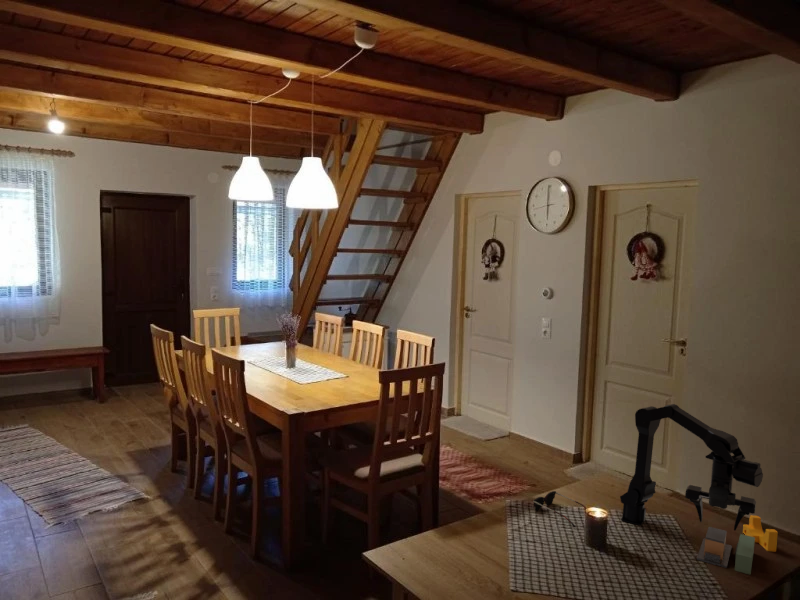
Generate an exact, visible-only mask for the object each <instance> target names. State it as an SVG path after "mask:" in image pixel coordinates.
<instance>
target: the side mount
mask: <svg viewBox="0 0 800 600" xmlns="http://www.w3.org/2000/svg"><path fill="white" fill-rule="evenodd" d="M705 538H706V537H705ZM705 538H702V542H701V545H700V547H699V548H700V549H699V551H698V554H697V556H696V561H700V562H704V563H707V564H709V565H715V566H718V567H722V568H725V569H727V568H728V565H729V561H730V557H731V552H732V548H733V547H732V545H731V544H729V543H728V544H727V543H726V544H725V551H724V556H723V560H721V559H720V555H717V554H713V553H709V552H705V555H704V549H705Z"/></svg>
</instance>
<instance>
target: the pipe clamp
mask: <svg viewBox="0 0 800 600" xmlns="http://www.w3.org/2000/svg"><path fill="white" fill-rule="evenodd" d="M743 533H744V534H745V535H747V536H751V537H755V544H756V543H758V544H759V545H760V546H761V547H763V548H764V550H765V551H766V552H777V546H778V545H777V543H778V534H779V533H778V531H777V530H776V529H774V528H773V529H771V528H766V529H765V531H764V530H763V527H762V518H761V517H760V516H758V515H752V514H751V515H750V514H749V520H748V524H746V523H745V524H743V527H742V534H743ZM744 534H743V535H744Z"/></svg>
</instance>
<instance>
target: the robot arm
mask: <svg viewBox="0 0 800 600" xmlns="http://www.w3.org/2000/svg"><path fill="white" fill-rule="evenodd" d="M634 413H635V414H634V420H635V428H636V430H637V432H638V437H637V447H636V458H635V465H634V466H635V468H634V474H633V476H632V478H631V480H630V481H629V485H628V487H627V492H625V493H624V494H622V495H620V497H619V498H620V502H621V504H623V507H622V517H621V519H620V521H621V522H625V523H629V524H633V525H637V526H642V525H643V524H644V522H645V521H646V516H647V515H646V511H647V508H646V507H645V504H646V503H648V501H649V499H651V498H653V496H654V494H656V485H657V482H656V481H653V479H652V478H651V468H652V459H653V448H654V440H655V439H654V437H655V434H656V432H657V430H658V428H659V427H660V424H661V420H662V419H663V420H664V419H670V420H672V421H673V422H674V423H676V424H678V425H679V426H681V427H682V428H683V429H685V430H687V431H688V432H690V433H691V434H693V435H695V436H696V437H698V438H700V440H702V442H703V443H704V444H705V445H706V447H707V448H708V449H709V450H710V451H711V452H710V453H708V454H707V455H705V459H708V460H712V465H711V466H712V467H711V475H710V477H711V478H710V486H709V490H708V491H703V489H702V487H701V486H696V485H692V484H689V485H687V487H686V489H685V494H684V495H685V496H684V498H685V499H688V500H689V502H690V503H693V505H694V506H695V509H696V511H697V516H698V519H699V522H700V523H702V522H703V499H707V500H708V505H709V506H711V507H713V508H714V507H715V508H716V507H717V508H720V509H722V510H726V509H727V508H728V506H737V507H738V508H737V509H738V510H737V514H736V517H735V522H734V527H733V530H734V531H736V530H737V529H738V526H739V525H740V522H741V521H742V519H743V517H745V516H750V514H751V515H752V514H755V512H756V507H757V506H756V505H757V501H756V499H755V498H752V497H746V496H742V495H741V496H740V499H739V498H736V493H734V492H733V480H735V481H736V482H739V483H742V484H744V485H745V484H746V485H749V486H751V487H752V486H753V487H755V488H758V487H760V486H761V485H762V482H763V478H764V473H763V469H762V468H761V463H760V462H755V461H750V460H746V456H745V455H744V453H743V451H742V449H741V448H740V446H739V442H738V439H737V437H735V435H732V434H731V433H727V432H725V431H723V430H721V429H716V428H713V427H711V426H710V425H708V424H706V423H705V422H704V421H703V422H702V421H701V420H700V419H698V418H697V417H695V416H694V415H692V414H691V413H689V412H687V411H685V410H684V409H682V408H681V407H680V406H679V405H677V404H675V403H671V404H667V405H665V406H662V407H656V406H651V405H650V406H646V407H642V408H639V409H637V410H636V411H635V412H634Z"/></svg>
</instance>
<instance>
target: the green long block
mask: <svg viewBox="0 0 800 600" xmlns="http://www.w3.org/2000/svg"><path fill="white" fill-rule="evenodd" d="M755 544H756V543H755V537H751V536H747V535H744V534H743V533H739V539H738V542H737V544H736V547H735V553H734V554H735V555H734V560H735V562H734V564H735V565H734V571H735V572H738V573H742V574H746V575H750V576H751V573H752V567H753V566H752V565H753V559H754V551H755Z"/></svg>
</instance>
